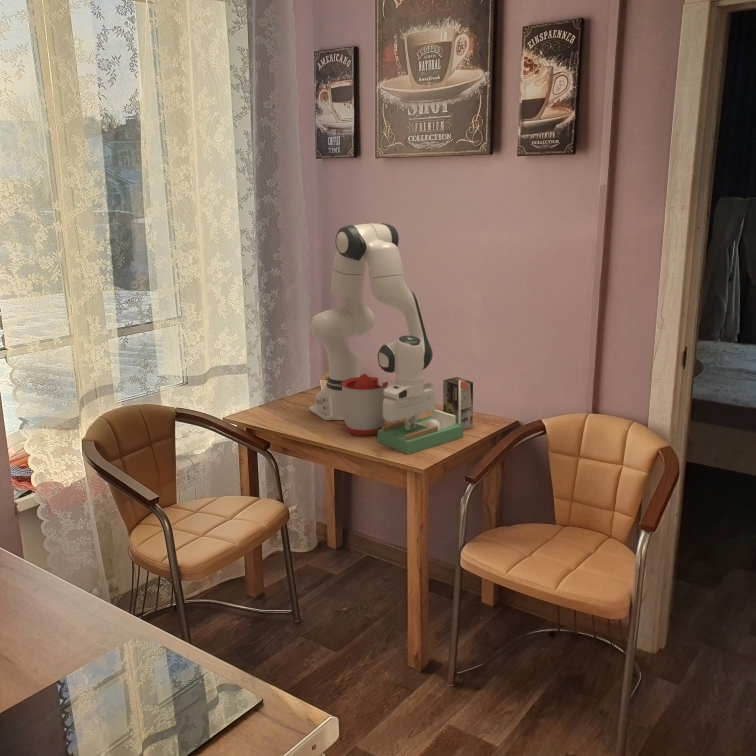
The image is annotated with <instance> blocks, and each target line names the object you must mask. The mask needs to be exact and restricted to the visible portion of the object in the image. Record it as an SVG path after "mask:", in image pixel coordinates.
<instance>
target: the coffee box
mask: <svg viewBox="0 0 756 756" xmlns="http://www.w3.org/2000/svg"><path fill="white" fill-rule="evenodd" d="M442 381H443V382H442V383H443V384H442V395H443V396H442V397H443V399H442V400H443V403H442V406H443V407H442V409H443V410H442V412H445V413H448V414H452V415H455V416H456V423H457V424H458V401H459V381H463V382H466V383H467V390H466V389H463V388H461V425H463V431H464V430H468V429H473V413H474V412H473V409H474V407H473V405H474V382H473V381H470V380H468V379H464V378H461V377H452V378H447V379H443V380H442Z"/></svg>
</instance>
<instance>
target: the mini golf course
mask: <svg viewBox="0 0 756 756" xmlns="http://www.w3.org/2000/svg"><path fill="white" fill-rule="evenodd" d="M461 388H463V389H466V390H467V383H466V382H463V381H459V401H458V424H457V423H456V416H455V415H452V414H448V413H445V412H443V410H439V409H437V408H435V410H433V411H432V414H431V415H428V416H425V417H420V418H418V419H417V421H416V423H415V428H414V429H411V430H406V429H405V424H404V422H403V420H401V421H396V422H394V423H391V424H388V425H386V424H385V425H384V426H383V427H382V429H381V430H377V431H378V434H377V443H378V442H379V444H382V445H384V446H386V447H388V448H391V449H394V450H397V451H399V452H401V453H404V454H407V455H411V454H414V453H417V452H421V451H424V450H427V449H430V448H434V447H436V446H440V445H443V444H446V443H448V442H449V443H450V442H452V441H455V440H459V439H462V438H463V437H464V430H463V425H461ZM411 419H412V418H410V420H408V421H409V423H410V422H411ZM431 419H435V420H437V421H438V422H439V423H440V426H441V428H440V429H439V430H438V427H437V426H434V427H431V428H428V427H426V423H427V422H428V421H429V420H431Z"/></svg>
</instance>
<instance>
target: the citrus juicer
mask: <svg viewBox="0 0 756 756" xmlns="http://www.w3.org/2000/svg"><path fill="white" fill-rule="evenodd" d="M360 376H361V377H356V378H350V379H347V380H344V381H343V382H342V383H341V385H342V404H343V415H344V420H343V421H344V422H345V426H346V429H347V431H348V432H349V433H350V434H352V435H357V436H360V437H366V436H372V435H378V431H377V430H381V429H382V427H383V426H386V420H385V419H384V418H383V401H384V398H385V397H386V396H384V394H383V391H384V389H386V388H387V387H388V383H389V382H388V381H384V382H383V383H382V386H381V385H379V378H378V377H373V376H369V375H367V374H366V373H363V374H361V375H360Z"/></svg>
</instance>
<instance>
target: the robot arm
mask: <svg viewBox="0 0 756 756" xmlns="http://www.w3.org/2000/svg"><path fill="white" fill-rule="evenodd" d="M334 241H335V247H336V250H335V254H334V260H333V264H332V274H331V275H332V276H331V285H330V288H331V289H330V290H331V292H332V294H333V295H334V297H337V298H338V299H339V302H340V304H339V307H337V308H333V309H328V310H327V309H326V310H324V311H322V312H320V313H317V314H315V315H314V316H313V317H312V319H311V321H310V331H311V334H312V335H313V337H314V339H316V341H318V342H319V343H321V345H322V346H323V347H324V350H325V352H326V355H327V361H328V375H329V376H325V377H324V379H325V381H326V384H325V385H326V386H325V387H323V388H322V389H321V390H320V391H319V392H318V393H316V396H315V404H313V405H311V406H309V409H308V410H309V411H310V412H311V413H313V414H315V415H316V416H318V417H319V418H321V419H322V420H325V421H331V420H332V421H333V420H334V421H335V420H336V421H345V420H344V415H343V404H342V385H341V383H342V382H343V381H344V380H347V379H350V378H356V377H361V376H362V375H361V365H360V363H361V360H360V359H361V358H360V355H359V353H358V352H357V351H356V350H354V349H352V348H351V346H350V344H349V339H351V338H355V337H360V336H363V335H365V334H367V333H370V331H372V330H373V328H374V326H375V315H374V313H373V311H372V309H371V308H369V307H368V305H367V304H366V301H365V296H364V290H365V289H364V285H365V277H366V267H367V265H368V274H369V275H368V276H369V284H370V285H369V286H370V290H371V293H372V296H373V297H374V298H375V300H377V301H378V302H380V303H381V304H383V305H385V306H389V307H391V308H394V309H397V310H399V311H400V312H401V313H402V315H404V318H405V321H406V325H407V329H408V333H409V334H408V335H402V336H399V337H398V338H397V339H396V340H395V341H393V342H389V343H385V344H383V345H381V347H380V348H379V351H378V354H377V363H378V366H379V367H380V369H381V370H382V371H384V372H385V373H391V374H392V373H394V374H396V375H395V376H396V377H395V381H394V382H393V383H392V384H390V385H388V386H387V388H386V389H384V391H383V394H384V396H386V397H385V398H384V401H383V418H384V419H385V422H389V423H393V422H394V423H395V422H399V421H400V420H401V421H403V422H404V424H405V429H406V430H411V429H414V428H415V423H416V421H417V419H419V416H420V415H422V414H426V413H430V412H433V410H435V409H437V401H436V400H437V398H436V397H437V396H436V392H435V386H434V384H433V383H431V382H427V383H425V376H424V372H423V370H425V369H427V368H428V367H429V365H430V364H431V362H432V360H433V348H432V346H431V344H430V341H429V340H428V336H427V333H426V329H425V325H424V324H425V323H424V321H423V317H422V313H421V310H420V309H421V308H420V306H419V302H418V300H417V297H416V294H415V292H413V291H412V290H410V289H409V286H408V285H407V283H406V281H405V275H404V267H403V262H402V261H403V260H402V258H401V253H400V250H399V248H398V247H399V242H400V238H399V233H398V231H397V229H396V228H395V227H394V226H393V225H392V224H389V223H376V222H375V223H372V222H371V223H369V222H368V223H367V222H366V223H362V224H361V223H360V224H355V225H354V224H353V225H352V224H350V225H346V226H343V227H341V228H339V229H338V231H337V233H336V236H335V240H334ZM410 419H411V422H410V423H409V421H408V420H410Z"/></svg>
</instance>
